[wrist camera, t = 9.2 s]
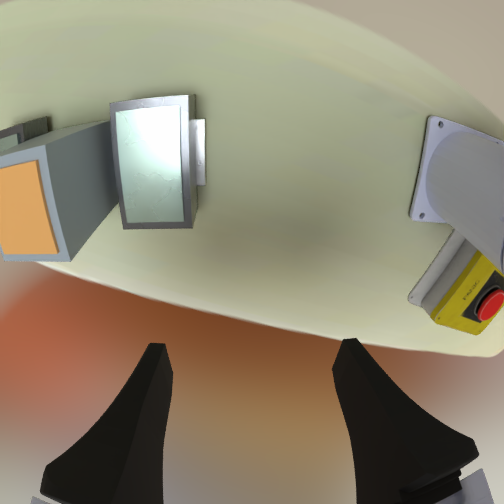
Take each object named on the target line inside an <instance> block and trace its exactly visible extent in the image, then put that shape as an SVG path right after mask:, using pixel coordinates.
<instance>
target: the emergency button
mask: <svg viewBox="0 0 504 504" xmlns="http://www.w3.org/2000/svg"><path fill="white" fill-rule="evenodd" d="M408 301H409V302H410V303H411V304H414V305H417V306H419V307H422V308H424V310H425V311H426V312H427V313H428V315H429V316H430V318H431V319H432V320H433V321H434V322H435V323H436V324H439V325H443V326H446V327H449V328H453V329H456V330H459V331H463V332H466V333H469V334H473V335H479V334H480V333H481V332H482V331H483V330H484V329H485V328H486V327H487V326H488V324H489V323H490V322H491V321H492V320H493V318H494V317H495V316H496V315H497V313H498V312H499V311H500V309H501V308H502V307H503V306H504V275H503V274H502V273H501V272H500V271H499V270H498V269H497V268H496V267H495V266H494V265H493V264H492V263H491V262H490V261H489V260H488V259H487V258H486V257H485V256H484V255H483V254H482V253H481V252H480V251H479V250H478V249H477V248H476V247H475V246H474V245H472V244H471V243H470V242H469V241H468V240H467V239H466V238H465V237H464V236H462V235H461V234H460V233H459V232H458V231H457V230H455V229H453V231H452V233H451V234H450V236H449V237H448V239H447V240H446V242H445V244H444V245H443V247H442V248H441V250H440V251H439V253H438V254H437V256H436V257H435V258H434V260H433V261H432V263H431V264H430V266H429V267H428V269H427V270H426V271H425V273H424V274H423V275H422V277H421V278H420V280H419V281H418V282H417V284H416V285H415V286H414V288H413V289H412V290H411V292H410V293H409V295H408Z"/></svg>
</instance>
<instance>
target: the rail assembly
mask: <svg viewBox="0 0 504 504" xmlns="http://www.w3.org/2000/svg"><path fill="white" fill-rule="evenodd" d="M110 122H111V137H112V149H113V159H114V169H115V177H116V185H117V192H118V199H119V206H120V212H121V219H122V224H123V229H178V228H193V224H194V221H195V217H196V213H197V209H198V204H197V186H205V184H206V160H205V119H195V94H194V95H176V96H163V97H152V98H143V99H134V100H127V101H120V102H114V103H110ZM46 133H48V128H47V116H46V117H42V118H39V119H35V120H32V121H28V122H25V123H22V124H19V125H16V126H13V127H10V128H7V129H4V130H1V131H0V152H2V151H4V150H7V149H9V148H11V147H13V146H16V145H18V144H20V143H23V142H25V141H28V140H30V139H33V138H35V137H38V136H40V135H43V134H46Z"/></svg>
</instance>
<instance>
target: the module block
mask: <svg viewBox="0 0 504 504" xmlns="http://www.w3.org/2000/svg"><path fill="white" fill-rule="evenodd" d="M118 202H119V199H118V192H117V185H116V177H115V169H114V159H113V149H112V137H111V122H110V120H103V121H97V122H92V123H86V124H81V125H76V126H71V127H66V128H61V129H57V130H54V131H51V132H48V133H46V134H43V135H40V136H38V137H35V138H33V139H30V140H28V141H25V142H23V143H20V144H18V145H16V146H13V147H11V148H9V149H7V150H4V151H2V152H0V251H1V254H2V256H3V259H4V261H56V262H71V261H72V259H73V258H74V257H75V255H76V254H77V253H78V251H79V250H80V249H81V248H82V246H83V245H84V244H85V242H86V241H87V240H88V239H89V237H90V236H91V235H92V233H93V232H94V231H95V230H96V229H97V227H98V226H99V225H100V224H101V222H102V221H103V220H104V219H105V218H106V216H107V215H108V214H109V213H110V212H111V211H112V209H113V208H114V207H115V206H116V205H117V204H118Z"/></svg>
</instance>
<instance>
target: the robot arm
mask: <svg viewBox="0 0 504 504" xmlns="http://www.w3.org/2000/svg"><path fill="white" fill-rule="evenodd" d="M439 121H440V126H438V123H439ZM421 213H422V215H421V216H419V215H420V214H421ZM410 218H411V219H412V220H413V221H421V222H436V223H448V224H450V225H451V226H452V227H453V228H454V229H455V230H457V231H458V232H459V233H460V234H461V235H462V236H464V237H465V238H466V239H467V240H468V241H469V242H470V243H471V244H472V245H474V246H475V247H476V248H477V249H478V250H479V251H480V252H481V253H482V254H483V255H484V256H485V257H486V258H487V259H488V260H489V261H490V262H491V263H492V264H493V265H494V266H495V267H496V268H497V269H498V270H499V271H500V272H501V273H502V274H503V275H504V142H503V141H501V140H499V139H497V138H494V137H492V136H490V135H487V134H485V133H482V132H480V131H477V130H475V129H472V128H469V127H467V126H464V125H461V124H458V123H456V122H453V121H450V120H447V119H444V118H440V117H437V116H433V115H432V116H430V117H429V118H428V122H427V129H426V136H425V142H424V148H423V154H422V160H421V165H420V170H419V175H418V180H417V184H416V189H415V193H414V198H413V202H412V206H411V210H410ZM332 371H333V377H334V383H335V388H336V392H337V395H338V399H339V402H340V405H341V408H342V412H343V415H344V418H345V422H346V425H347V428H348V431H349V436H350V440H351V446H352V452H353V459H354V468H355V478H356V496H357V504H494V502H493V499H492V496H491V492H490V489H489V486H488V483H487V480H486V477H485V474H484V472H483V469H479V470H477V471H476V472H474V473H473V474H471V475H469V476H467V477H466V478H464V479H462V480H461V481H460V480H459V476H461V471H460V469H461V468H462V467H464V466H465V465H467V464H469V463H470V462H472V461H473V460H474V459H476V458H477V457H478V456H479V452H478V450H477V447H476V445H475V442H474V440H473V439H472V438H470V437H467V436H465V435H463V434H461V433H459V432H457V431H455V430H453V429H451V428H450V427H448V426H447V425H445V424H443V423H442V422H440V421H439V420H437V419H436V418H434V417H433V416H432V415H430V414H429V413H427V412H426V411H425V410H424V409H422V408H421V407H420V406H419V405H417V404H416V403H415V402H414V401H413V400H412V399H410V398H409V397H408V396H407V395H406V394H405V393H404V392H403V391H402V390H401V389H400V388H399V387H398V386H397V385H396V384H395V383H394V382H393V380H391V378H390V377H389V376H388V375H387V374H386V373H385V372H384V370H383V369H382V368H381V367H380V366H379V365H378V364H377V362H376V361H375V360H374V359H373V357H371V355H370V354H369V353H368V351H367V350H366V349H365V348H364V347H363V345H362V344H361V343H360V342H359V341H358V339H357V338H351V339H343V341H342V344H341V346H340V349H339V352H338V354H337V357H336V360H335V362H334V365H333V368H332ZM172 383H173V371H172V368H171V364H170V360H169V357H168V353H167V349H166V345H165V344H163V343H150V344H149V345H148V346H147V348H146V350H145V352H144V354H143V356H142V358H141V359H140V361H139V363H138V364H137V366H136V368H135V369H134V371H133V373H132V374H131V376H130V378H129V379H128V381H127V382H126V384H125V385H124V387H123V388H122V390H121V391H120V393H119V394H118V395H117V397H116V398H115V400H114V401H113V402H112V404H111V405H110V406H109V408H108V409H107V410H106V411H105V413H104V414H103V415H102V416H101V417H100V419H99V420H98V421H97V422H96V423H95V424H94V425H93V426H92V427H91V428H90V430H89V431H88V432H87V433H86V434H85V435H84V436H83V437H81V438H80V439H79V440H78V441H77V442H76V443H75V444H74V445H73V446H72V447H70V448H69V449H68V450H67V451H66V452H64V453H63V454H62V455H60V456H59V457H58V458H56V459H55V460H54V461H52V462H51V463H49V464H48V465H47V466H46V468H45V471H44V474H43V478H42V483H41V488H40V493H41V494H42V495H44V496H46V497H48V498H50V499H53V500H55V501H57V502H59V503H62V504H163V446H164V437H165V431H166V425H167V419H168V413H169V408H170V402H171V396H172ZM31 504H50V503H47V502H45V501H42V500H40V499H38V498H36V497H32V500H31Z"/></svg>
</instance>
